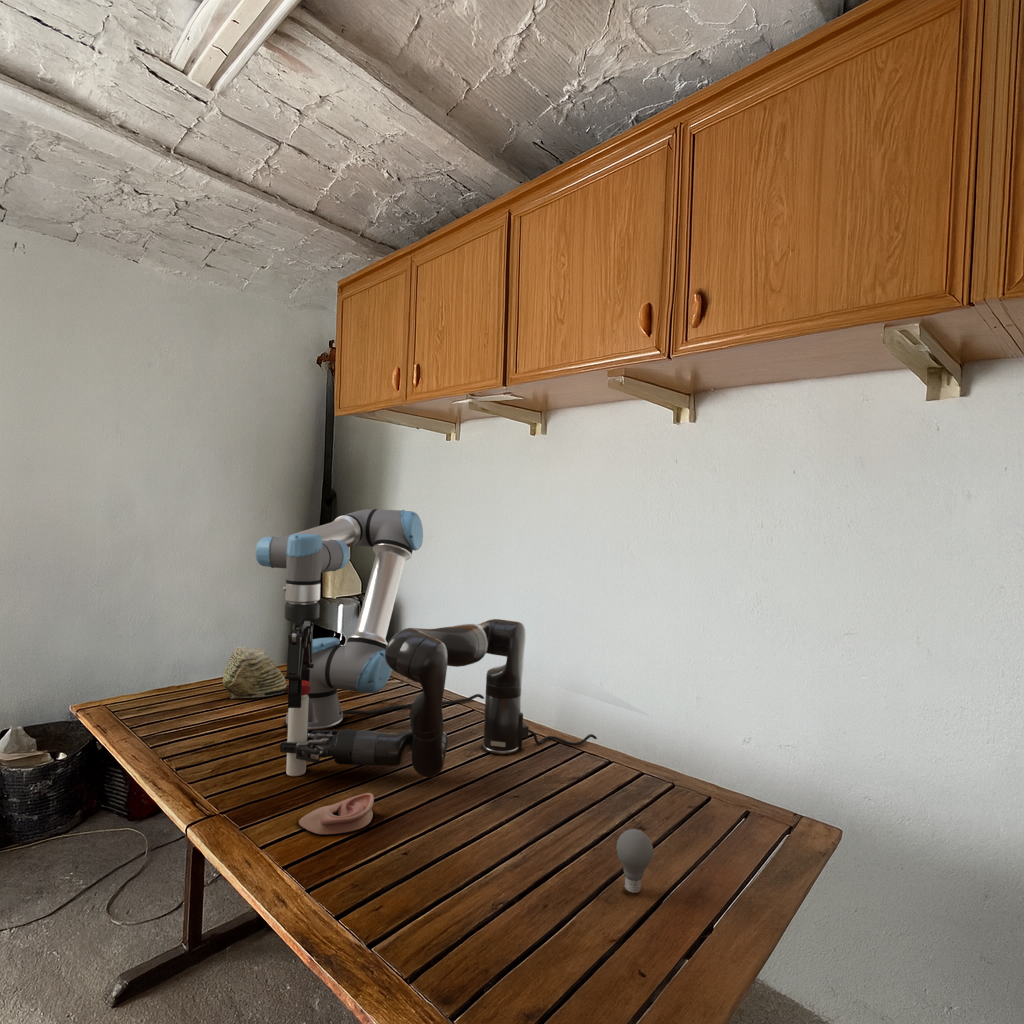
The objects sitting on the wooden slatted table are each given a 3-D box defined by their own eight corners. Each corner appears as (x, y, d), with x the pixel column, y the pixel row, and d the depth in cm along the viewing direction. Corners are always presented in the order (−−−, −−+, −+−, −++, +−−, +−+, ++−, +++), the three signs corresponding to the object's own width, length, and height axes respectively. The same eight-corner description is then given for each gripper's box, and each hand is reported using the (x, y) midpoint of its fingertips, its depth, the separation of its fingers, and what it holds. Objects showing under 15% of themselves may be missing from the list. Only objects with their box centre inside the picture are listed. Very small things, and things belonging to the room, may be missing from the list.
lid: (284, 691, 145) (285, 682, 145) (305, 688, 148) (305, 679, 148) (292, 697, 141) (292, 687, 141) (313, 693, 144) (313, 684, 144)
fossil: (218, 695, 195) (220, 647, 195) (278, 685, 208) (279, 640, 207) (228, 703, 189) (230, 653, 188) (289, 692, 201) (290, 645, 201)
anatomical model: (290, 809, 120) (320, 783, 131) (289, 830, 120) (320, 802, 131) (355, 819, 117) (381, 791, 128) (355, 840, 117) (380, 811, 128)
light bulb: (610, 879, 108) (613, 822, 108) (644, 879, 109) (647, 822, 109) (619, 902, 102) (622, 840, 102) (655, 901, 103) (658, 840, 103)
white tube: (304, 767, 148) (307, 684, 147) (306, 774, 144) (310, 690, 144) (285, 769, 146) (288, 686, 146) (287, 777, 142) (290, 691, 142)
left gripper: (296, 594, 154) (292, 688, 154) (273, 608, 134) (269, 716, 134) (327, 595, 154) (324, 689, 155) (309, 609, 135) (305, 717, 135)
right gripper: (368, 720, 151) (297, 716, 152) (350, 743, 137) (272, 738, 138) (366, 751, 151) (296, 747, 152) (348, 777, 137) (271, 772, 138)
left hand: (298, 701), depth 145 cm, fingers open, 7 cm apart
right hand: (285, 742), depth 145 cm, fingers closed on white tube, 4 cm apart
